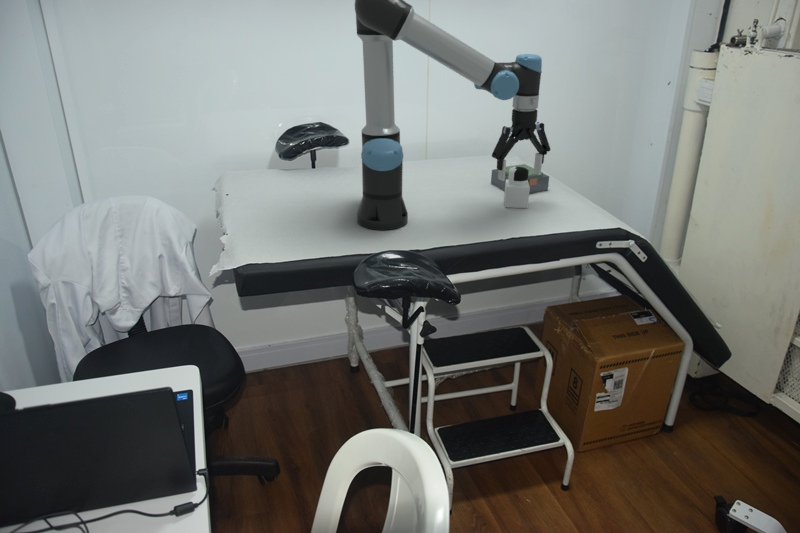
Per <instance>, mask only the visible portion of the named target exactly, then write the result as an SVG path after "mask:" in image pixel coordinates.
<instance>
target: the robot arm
mask: <svg viewBox="0 0 800 533" xmlns="http://www.w3.org/2000/svg"><path fill="white" fill-rule="evenodd" d="M354 12H355V24H356V36H357V37H358V38H359V39H360V40H361V41H362V56H363V57H362V59H363V77H364V78H363V80H364V81H363V82H364V83H363V84H364V103H365V104H364V105H365V126H364V127H363V128H362V129H361V148H362V149H361V165H362V166H361V170H362V171H361V172H362V173H361V176H362V181H361V182H362V198H361V201H360V204H359V207H358V210H357V214H356V219H357V221H356V222H357V224H358V225H359V226H361V227H363V228H365V229H366V228H367V229H370V230H377V231H389V230H395V229H399V228H401V227H404V226H405V225H406V224H407V223H408V222H409V214H408V210H407V207H406V204H405V201H404V198H403V168H404V167H403V165H404V164H403V162H404V161H403V160H404V151H403V146H402V145H401V130H400V128H399V126H397V125H396V123H395V121H396V120H395V118H396V117H395V85H394V83H395V82H394V79H395V78H394V46H393V45H394V44H393V41H399V40H400V41H403V42H404V43H405V44H407V45H409V46H410V47H413V48H415V49H416V50H418V51H419V52H421V53H423V54H424V55H426V56H427V57H429V58H431V59H433V60H435V61H436V62H438V63H439V64H441V65H443V66H444V67H446V68H448V69H449V70H451V71H453V72H455V73H456V74H458V75H459V76H461V77H463V78H465V79H467V80H468V81H470V82H471V83H472V84H474V85H473V86H474V88H475V89H476V90H483V91H487V92H488V93H490V94H492V96H493V97H494V98H496V99H498V100H501V101H508V100H511V99H512V110H511V126H505V125H504V126H502V128H501V134H500V136H499V138H498V140H497V143H496V145H495V147H494V149H493V151H492V153H491V157H492V158H493V159H495V160H496V169H498V179H500V180H502V181H505V170H506V167H507V160H506V158H507V156H508V154H509V153H510V152H511V150H512V149H513V147H514V146H515V144H516V143H519V141H524V140H526V141H528V140H529V141H530V142H531V144H532V145H533V146H534V148H535V150H536V152H535V154H534V156H535V157H534V165H533V168H534V173H535V174H537V175H541V172H542V167H543V166H542V165H543V164H544V161H545V156H546V155H547V154H548V152H550V151H551V146H550V143H549V140H548V137H547V134H546V131H545V124H544V123H543V122H540V121H538V112H539V111H538V110H537V109H538V108H539V99H540V86H541V85H540V84H541V78H542V68H543V67H542V66H543V65H542V56H540V55H538V54H532V53H522V54H518V55H517V56H516V58H515V60H514V61H511V62H496V61H494V60H492V59H491V58H490V57H488V56H486V55H484V54H482V53H481V52H480V51H478V50H476V49H475V48H473V47H471V46H470V45H468V44H467V43H465V42H463V41H462V40H461V39H459V38H457V37H455V36H454V35H452V34H450V33H449V32H447V31H446V30H444V29H442V28H441V27H440V26H438V25H436V24H435V23H433V22H430V20H428V19H425V17H422V16H421V15H420V14H418V13H416V12H415V10H414V7H413V5H411V4H409V3H407V2H406V1H405V0H354ZM535 131H536V134H537V136H536V134H535ZM537 137H538V138H537Z"/></svg>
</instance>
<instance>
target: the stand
mask: <svg viewBox="0 0 800 533" xmlns="http://www.w3.org/2000/svg"><path fill="white" fill-rule="evenodd" d="M513 167H524V168H526V169H528V171H529V172H528V183H529V187H530V191H529V194H534V193H539V192H546V191H548V190H549V183H550V182H549V181H550V175H547V174H545V173H544V172H542V171H541V175H537V174H535V173H534V167H532V166H530V165H527V164H525V163H522V164H521V163H520V164H516V165H510V166H509V165H508V166H507V165H506V170H505V181H502V180H500V179H498V169H497V168H495V169H491V175H490V177H491V178H490V179H491V180H490V184H491V185H493V186H495V187H497V188H499V189H501V190H502V191H503V192H505V182H506V180H508V177H509V169H510V168H513Z"/></svg>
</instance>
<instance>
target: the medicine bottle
mask: <svg viewBox="0 0 800 533" xmlns="http://www.w3.org/2000/svg"><path fill="white" fill-rule="evenodd" d="M528 172H529V171H528V169H526V168H524V167H513V168H510V169H509V177H508V180H506V182H505V191H504V195H503V202H504V207H505V208H511V209H512V208H514V209H528V207H529V200H530V199H529V198H530V193H529V191H530V187H529V183H528Z"/></svg>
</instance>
